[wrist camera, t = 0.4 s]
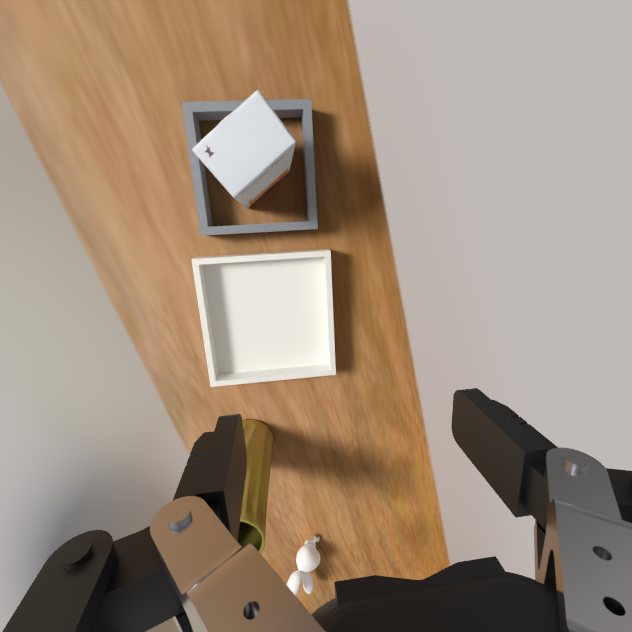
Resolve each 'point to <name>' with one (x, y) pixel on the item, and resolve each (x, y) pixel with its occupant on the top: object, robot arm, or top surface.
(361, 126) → the top surface
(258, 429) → the vase
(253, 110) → the skincare box
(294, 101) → the frame
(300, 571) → the rabbit figurine
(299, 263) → the tray
